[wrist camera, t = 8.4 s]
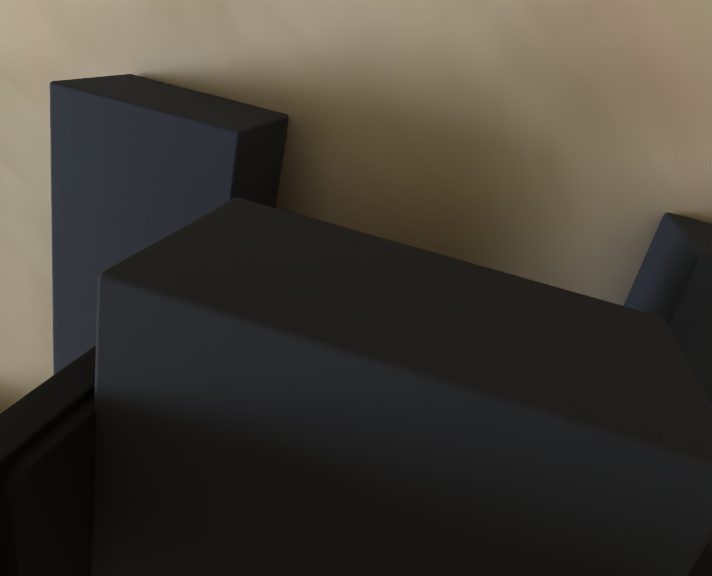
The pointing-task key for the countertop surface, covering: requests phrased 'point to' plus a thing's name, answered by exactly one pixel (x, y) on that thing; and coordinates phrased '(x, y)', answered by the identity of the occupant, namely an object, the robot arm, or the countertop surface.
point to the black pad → (382, 415)
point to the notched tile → (250, 182)
